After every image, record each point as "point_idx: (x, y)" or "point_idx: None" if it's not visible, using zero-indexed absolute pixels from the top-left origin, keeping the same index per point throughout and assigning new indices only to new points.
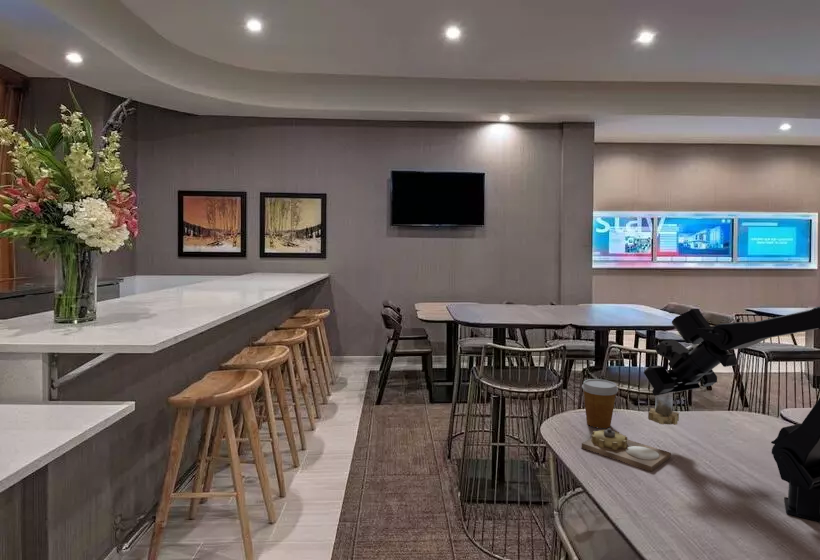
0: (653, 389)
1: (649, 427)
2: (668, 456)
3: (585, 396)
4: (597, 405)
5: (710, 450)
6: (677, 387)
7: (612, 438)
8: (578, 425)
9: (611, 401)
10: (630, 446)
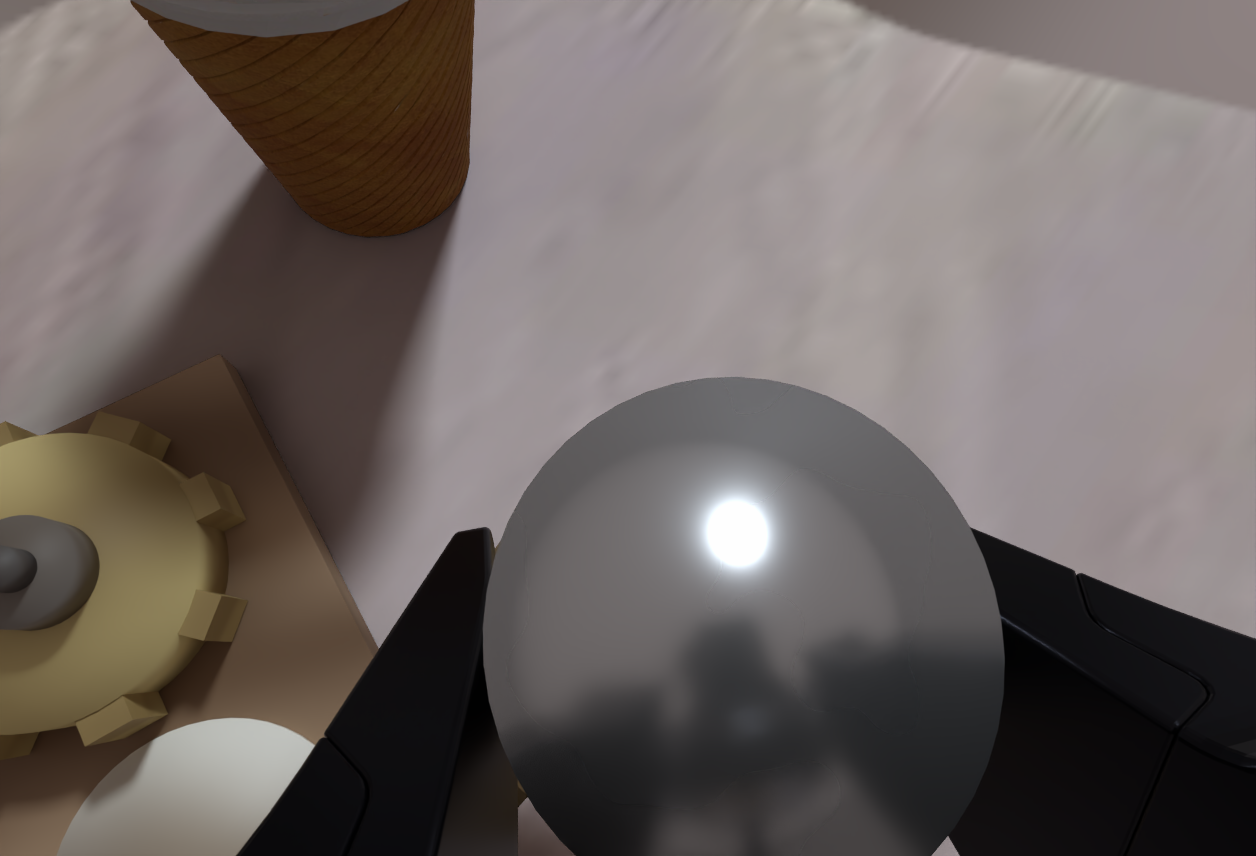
0: (422, 591)
1: (750, 289)
2: None
3: None
4: (203, 84)
5: None
6: (975, 795)
7: (14, 649)
8: (198, 136)
9: (344, 86)
10: (222, 700)
